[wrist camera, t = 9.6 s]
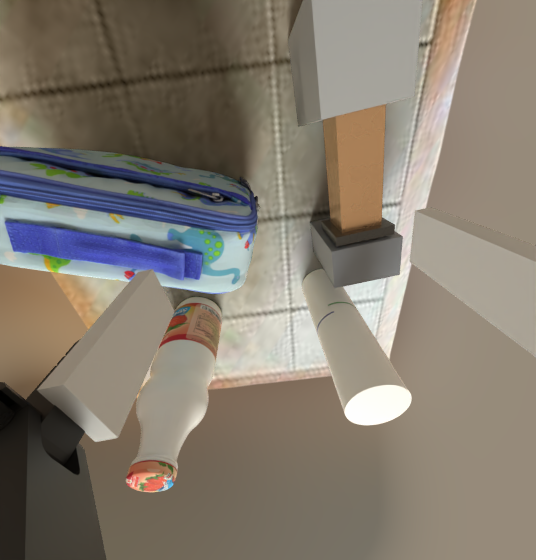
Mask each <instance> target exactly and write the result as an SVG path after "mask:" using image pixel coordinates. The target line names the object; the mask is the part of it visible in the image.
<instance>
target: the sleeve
mask: <svg viewBox="0 0 536 560" xmlns="http://www.w3.org/2000/svg"><path fill="white" fill-rule="evenodd" d="M421 12H422V0H303V1H302V4H301V7H300V10H299V12H298V15H297V18H296V20H295V23H294V26H293V28H292V31H291V34H290V37H289V39H288V45H289V53H290V61H291V70H292V78H293V86H294V94H295V102H296V111H297V119H298V127H299V126H303V125H307V124H311V123H315V122H319V121H323V120H324V119H328V118H331V117H335V116H339V115H343V114H347V113H351V112H355V111H359V110H363V109H367V108H371V107H375V106H379V105H384V104H390V103H393V102H397V101H401V100H404V99H408V98H412V97H414V96H415V84H416V72H417V60H418V48H419V36H420V24H421Z"/></svg>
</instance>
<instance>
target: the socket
mask: <svg viewBox="0 0 536 560" xmlns="http://www.w3.org/2000/svg"><path fill="white" fill-rule="evenodd" d="M327 219H330V218H327ZM327 219H322V220H318V221H313V222H310V226H311V234H312V242H313V251H314V253H315V255H316V256H317V258H318V260H319V262H320V263H321V265H322V267H323V269H324V271H325V272H326V274H327V276H328V278H329V279H330V281H331V283H332V285H333V286H334V288H338V287H343V286H347V285H352V284H357V283H362V282H367V281H371V280H376V279H381V278H386V277H391V276H395V275H400V263H401V251H402V239H403V236H401V235H400V234H398V233H396V232H395V231H394V234H392V235H388V236H383V237H378V238H374V239H369V240H365V241H360V242H355V243H351V244H346V245H342V246H336V245H335V244H334V243H333V241H332V240H331V239H330V238H329V237H328V235H327V234H326V233H325V232H324V230H323V229H322V224H321V221H323V220H327Z"/></svg>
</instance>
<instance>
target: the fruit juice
mask: <svg viewBox="0 0 536 560" xmlns="http://www.w3.org/2000/svg"><path fill="white" fill-rule="evenodd" d="M221 324H222V313H221V310H220V308H219V307H218V306H217V305H216V304H215V303H214V302H213V301H211V300H209V299H207V298H203V297H192V298H188V299H186V300H184V301H182V302H181V303H180V304H179V305H178V307H177V308H176V310H175V312H174V314H173V317H172V319H171V321H170V323H169V326H168V328H167V330H166V332H165V335H164V337H163V339H162V341H161V344H160V346H159V348H158V350H157V352H156V354H155V357H154V359H153V362H152V365H151V370H150V379H149V380H148V381H147V382H146V383H145V385H144V386H143V388H142V389H141V391H140V394H139V396H138V400H137V404H136V412H137V417H138V420H139V422H140V425H141V442H140V448H139V452H138V455H137V458H136V459H134V460H133V462H132V464H131V466H130V468H129V470H128V474H127V477H126V483H127V485H128V486H129V487H131V488H133V489H135V490H138V491H144V492H159V491H164V490H167V489H169V488H170V487H171V486H172V485H173V484H174V482H175V479H176V475H177V469H178V464H177V462H176V461H177V457H178V454H179V451H180V449H181V446H182V444H183V443H184V441H185V439H186V437H187V435H188V434H189V432H190V431H191V430H193V428H195V427H196V426H197V425H198V424H199V422H200V421H201V420H202V418H203V417H204V415H205V412H206V409H207V405H208V389H207V387H208V385H209V384H210V382H211V380H212V377H213V373H214V369H215V362H216V356H217V350H218V343H219V337H220V331H221Z"/></svg>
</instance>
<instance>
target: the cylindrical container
mask: <svg viewBox="0 0 536 560" xmlns="http://www.w3.org/2000/svg"><path fill="white" fill-rule="evenodd" d="M302 291H303V294H304V297H305V300H306V303H307V306H308V308H309V311H310V314H311V317H312V320H313V323H314V326H315V329H316V332H317V334H318V337H319V340H320V343H321V346H322V349H323V352H324V355H325V358H326V361H327V363H328V366H329V369H330V372H331V375H332V378H333V381H334V384H335V386H336V389H337V392H338V395H339V398H340V401H341V404H342V407H343V410H344V412H345V415H346V417H347V418H348V420H350V421H351V422H353V423H356V424H360V425H375V424H381V423H384V422H387V421H390V420H392V419H394V418H396V417H398V416H399V415H401V414H402V413H403V412H404V411H405V410H406V409H407V408H408V407H409V405H410V403H411V394H410V392H409V391H408V389H407V388H406V386H405V384H404V383H403V381H402V380H401V378H400V377H399V375H398V373H397V372H396V370H395V369H394V367H393V365H392V364H391V362H390V361H389V359H388V358H387V356H386V354H385V353H384V351H383V350H382V348H381V346H380V345H379V343H378V342H377V340H376V339H375V337H374V335H373V334H372V332H371V331H370V329H369V327H368V326H367V324H366V323H365V321H364V320H363V318H362V316H361V315H360V313H359V312H358V310H357V309H356V307H355V305H354V304H353V302H352V301H351V299H350V297H349V296H348V294H347V293H346V291H345V290H344V288H343V287H338V288H334V286H333V285H332V283H331V281H330V279H329V278H328V276H327V274H326V272H325V271H324V269H318V270H315V271H312V272H311V273H309V274H308V275H307V276H306V277H305V278H304V280H303V283H302Z"/></svg>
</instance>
